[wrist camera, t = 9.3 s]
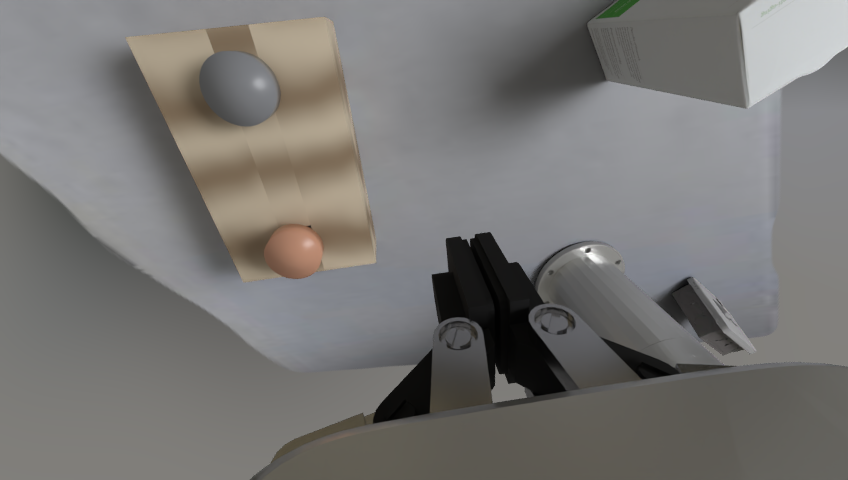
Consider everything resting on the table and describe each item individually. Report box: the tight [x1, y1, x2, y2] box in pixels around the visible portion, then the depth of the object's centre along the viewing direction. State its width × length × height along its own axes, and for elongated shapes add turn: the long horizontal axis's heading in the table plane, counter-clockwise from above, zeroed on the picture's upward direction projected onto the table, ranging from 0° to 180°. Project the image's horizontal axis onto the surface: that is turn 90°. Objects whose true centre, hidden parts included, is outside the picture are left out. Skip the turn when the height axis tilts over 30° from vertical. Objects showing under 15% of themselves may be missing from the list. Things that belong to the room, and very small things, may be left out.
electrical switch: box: [672, 277, 756, 355], centre depth 48 cm, size 9×5×9 cm, turn 53°
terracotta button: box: [264, 224, 324, 279], centre depth 33 cm, size 5×5×6 cm
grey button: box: [199, 51, 281, 127], centre depth 26 cm, size 5×5×6 cm
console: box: [125, 17, 376, 283], centre depth 31 cm, size 22×14×5 cm, turn 6°
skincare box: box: [587, 0, 848, 109], centre depth 25 cm, size 8×7×16 cm
